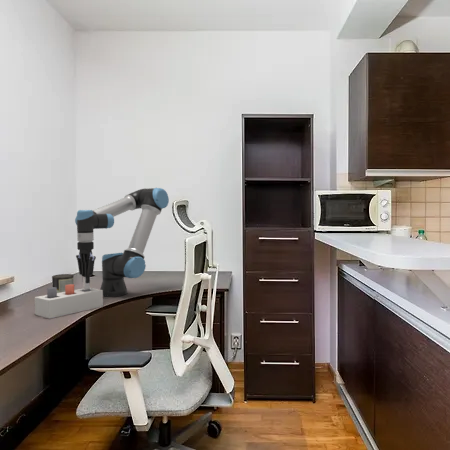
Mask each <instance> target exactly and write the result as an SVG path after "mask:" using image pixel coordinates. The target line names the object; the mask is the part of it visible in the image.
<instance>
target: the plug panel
mask: <svg viewBox="0 0 450 450" xmlns="http://www.w3.org/2000/svg"><path fill="white" fill-rule="evenodd" d="M82 290H83V288H78V289H74V294H71V295H65V292H61V293H57V297H55V298H47V294H45V295H40V296H35V297H34V315H35V316H39V317H42V318H44V319H45V318H46V319H49V320H50V319H54V318H58V317H62V316H68V315H71V314H76V313H79V312H84V311H89V310H93V309H97V308H103V307H104V299H103V298H104V296H103V290H100V289H98V288H93V287H90V290H91V291H87V292H83V291H82Z"/></svg>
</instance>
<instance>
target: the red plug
mask: <svg viewBox="0 0 450 450" xmlns="http://www.w3.org/2000/svg"><path fill="white" fill-rule="evenodd" d="M74 290H75V284H69V285H65V295H71V294H74Z"/></svg>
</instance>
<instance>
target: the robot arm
mask: <svg viewBox="0 0 450 450" xmlns="http://www.w3.org/2000/svg"><path fill="white" fill-rule="evenodd" d="M169 199H170V198H169V195H168V192H167V191H166V189H164V188H162V187H154V188H152V187H151V188H141V189H138V190H135V191H133V192H129V193H128V194H125V196H124V197H123V198H120V199H118V200H115V201H113V202H110V203H108V204H106V205H103V206H101V207H98V208H95V209H94V210H92V209H79V210H78V211H77V212H76V216H75V219H74V222H75V225H76V230H77V231H76V237H77V250H78V251H79V252H78V254H76V255H75V257H76V260H77V267H78V272H79V273H78V274H79V275H80V276H81V277H82V289H83V290H89V289H90V288H91V286H90V283H91V280H90V279H91V278H90V277H91V276H93V275H94V269H95V261H96V256H95V255H93V252H92V250H93V249H94V246H95V245H94V240H95V239H94V238H95V237H94V230H98V229H99V230H100V229H102V230H103V229H106V230H107V229H111V228H113V227H114V224H115V217H117V216H119V215H121V214H123V213H126V212H128V211H135V210H140V209H141V210H142V211H141V213H140V216H139V219H138V221H137V224H136V226H135V229H134V232H133V234H132V237H131V240H130V242H129V245H128V247H127V248H126V249H124V250H123V252H115V253H106V254H103V255H102V257H101V271H102V272H101V273H102V277H101V278H102V281H101V285H100V289H99V290H103V297H112V298H113V297H119V296H120V297H121V296H124V295H127V294H128V288H127V284H126V282H125V278H127V279H136V278H140V277H141V276H143V274H144V273H145V271H146V267H147V265H146V261H145V255H144V252H145V248H146V247H147V243H148V241H149V238H150V235H151V233H152V230H153V227H154V224H155V221H156V219H157V216H158V215H160V214H161V212H162V210H163V209H166V208H167V207H168V205H169V204H170V203H169Z"/></svg>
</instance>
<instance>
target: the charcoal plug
mask: <svg viewBox="0 0 450 450" xmlns="http://www.w3.org/2000/svg"><path fill="white" fill-rule="evenodd" d="M46 293H47V294H46V295H47V298H55V297H57V288H56V287H47V288H46Z"/></svg>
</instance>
